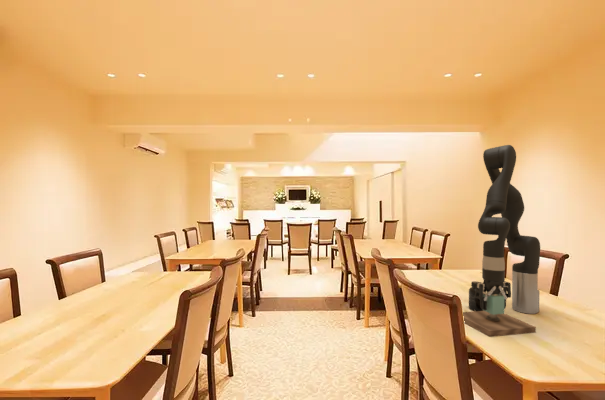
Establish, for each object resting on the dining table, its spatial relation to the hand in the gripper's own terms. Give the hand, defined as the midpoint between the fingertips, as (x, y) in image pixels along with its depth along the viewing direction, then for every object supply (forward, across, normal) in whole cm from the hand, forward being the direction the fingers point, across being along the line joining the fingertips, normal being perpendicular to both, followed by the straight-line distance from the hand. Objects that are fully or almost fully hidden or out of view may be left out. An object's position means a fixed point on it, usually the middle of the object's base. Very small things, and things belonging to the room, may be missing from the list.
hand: (493, 309), depth 120 cm
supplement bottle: (+6, -7, -16) cm, 19 cm away
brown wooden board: (+6, 0, 0) cm, 6 cm away
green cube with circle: (+1, 0, 0) cm, 1 cm away
